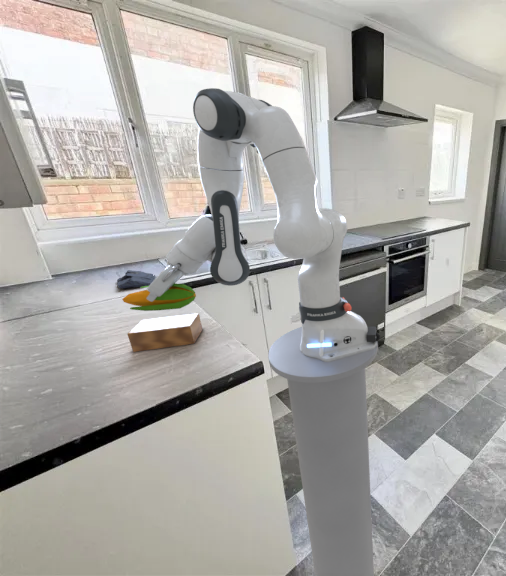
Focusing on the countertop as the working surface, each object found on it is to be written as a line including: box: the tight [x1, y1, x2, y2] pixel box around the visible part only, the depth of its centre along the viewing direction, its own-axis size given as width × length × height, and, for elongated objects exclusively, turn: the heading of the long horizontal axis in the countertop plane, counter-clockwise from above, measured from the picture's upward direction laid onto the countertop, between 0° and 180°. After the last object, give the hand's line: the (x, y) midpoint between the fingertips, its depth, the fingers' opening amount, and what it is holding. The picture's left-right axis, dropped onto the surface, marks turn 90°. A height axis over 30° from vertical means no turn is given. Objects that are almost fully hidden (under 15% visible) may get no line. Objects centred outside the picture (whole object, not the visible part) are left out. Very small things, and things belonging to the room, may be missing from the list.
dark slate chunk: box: [116, 269, 156, 289], centre depth 151 cm, size 15×22×5 cm
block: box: [126, 312, 203, 353], centre depth 95 cm, size 16×10×6 cm, turn 106°
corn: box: [121, 282, 197, 312], centre depth 92 cm, size 7×8×20 cm
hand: (155, 294), depth 91 cm, fingers closed on corn, 6 cm apart
